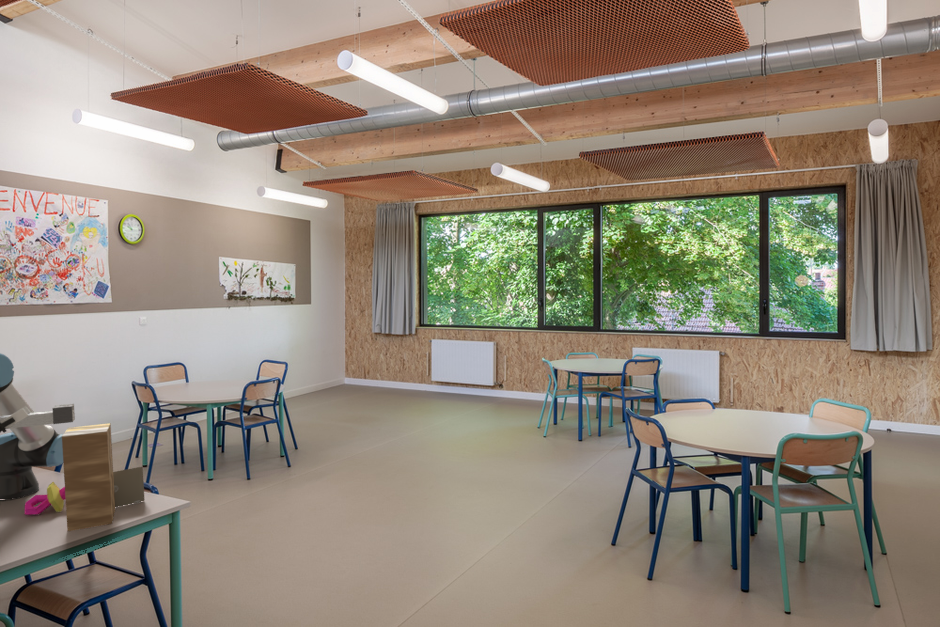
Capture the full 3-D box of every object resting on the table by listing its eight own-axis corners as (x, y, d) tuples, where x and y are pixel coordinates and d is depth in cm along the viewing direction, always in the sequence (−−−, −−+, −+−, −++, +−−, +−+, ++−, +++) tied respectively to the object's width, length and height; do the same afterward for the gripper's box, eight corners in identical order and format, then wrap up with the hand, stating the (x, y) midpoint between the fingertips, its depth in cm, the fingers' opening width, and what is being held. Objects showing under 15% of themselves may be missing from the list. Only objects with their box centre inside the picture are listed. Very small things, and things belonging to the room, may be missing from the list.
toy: (31, 510, 207) (17, 490, 201) (89, 486, 214) (77, 466, 209) (31, 530, 199) (17, 509, 194) (91, 504, 207) (78, 484, 202)
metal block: (-4, 427, 180) (-5, 411, 180) (74, 419, 190) (73, 403, 189) (-8, 430, 176) (-9, 414, 176) (72, 422, 185) (71, 406, 185)
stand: (73, 517, 196) (68, 427, 195) (115, 510, 202) (110, 423, 200) (67, 531, 185) (61, 436, 183) (112, 523, 190) (106, 431, 189)
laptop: (138, 493, 219) (137, 459, 219) (144, 502, 210) (142, 466, 209) (81, 505, 208) (79, 469, 208) (84, 516, 198) (82, 477, 198)
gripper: (-39, 461, 181) (40, 415, 190) (-56, 476, 167) (29, 425, 175) (-56, 442, 179) (24, 397, 188) (-75, 455, 165) (12, 405, 173)
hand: (27, 411), depth 182 cm, fingers closed on metal block, 3 cm apart
